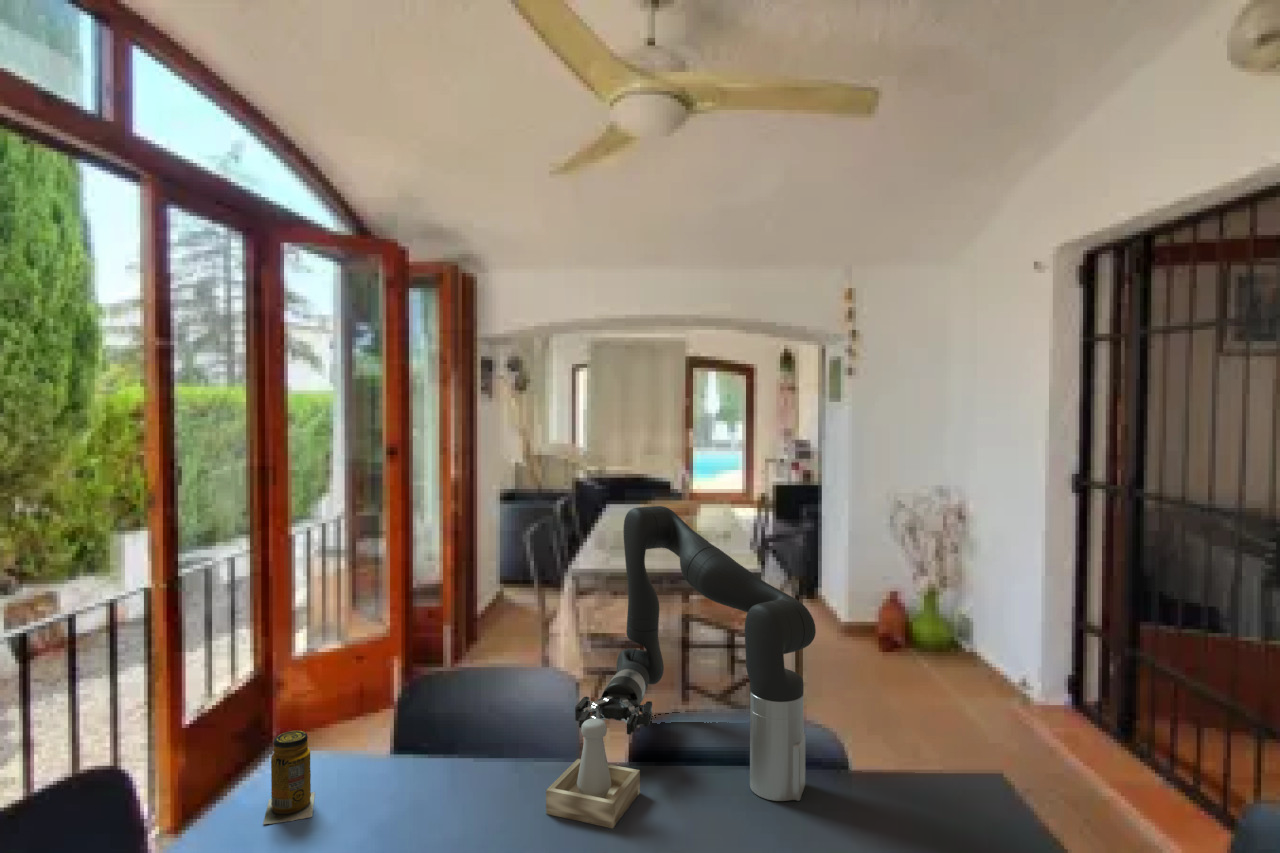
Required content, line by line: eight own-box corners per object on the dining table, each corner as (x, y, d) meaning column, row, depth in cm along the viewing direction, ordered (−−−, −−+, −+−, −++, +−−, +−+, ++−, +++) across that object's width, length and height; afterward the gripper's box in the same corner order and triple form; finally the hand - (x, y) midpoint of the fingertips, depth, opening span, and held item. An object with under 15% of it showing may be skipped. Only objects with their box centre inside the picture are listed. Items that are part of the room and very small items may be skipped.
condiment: (315, 793, 133) (314, 725, 132) (312, 817, 125) (311, 745, 124) (268, 800, 130) (267, 731, 130) (262, 826, 122) (261, 752, 122)
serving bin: (639, 792, 133) (639, 770, 133) (612, 828, 121) (612, 803, 121) (577, 780, 137) (577, 758, 137) (546, 813, 126) (546, 790, 126)
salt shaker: (606, 807, 126) (606, 730, 125) (573, 804, 127) (572, 727, 127) (614, 790, 132) (614, 715, 131) (582, 786, 133) (582, 713, 132)
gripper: (590, 673, 154) (567, 704, 138) (659, 677, 152) (644, 709, 136) (590, 709, 155) (567, 744, 139) (659, 714, 152) (644, 751, 136)
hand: (605, 727), depth 137 cm, fingers open, 8 cm apart
